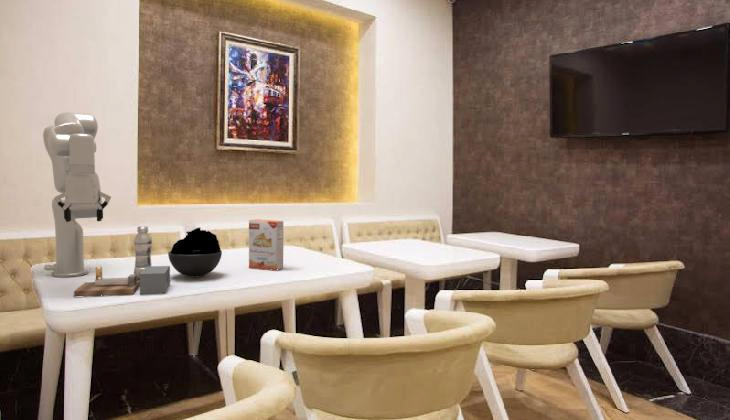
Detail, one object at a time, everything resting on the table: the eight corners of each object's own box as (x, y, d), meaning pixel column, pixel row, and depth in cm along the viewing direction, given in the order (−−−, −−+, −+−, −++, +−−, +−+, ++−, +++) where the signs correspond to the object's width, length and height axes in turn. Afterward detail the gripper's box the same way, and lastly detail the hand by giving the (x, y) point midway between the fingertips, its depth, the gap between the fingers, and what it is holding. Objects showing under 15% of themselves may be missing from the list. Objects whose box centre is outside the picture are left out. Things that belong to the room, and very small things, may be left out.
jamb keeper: (139, 294, 177) (139, 273, 177) (146, 285, 191) (146, 266, 190) (165, 293, 179) (165, 273, 179) (170, 284, 193) (169, 265, 192)
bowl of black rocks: (202, 283, 196) (202, 233, 195) (157, 279, 202) (156, 230, 200) (231, 273, 215) (231, 227, 214) (189, 270, 221) (188, 225, 219)
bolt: (95, 284, 179) (94, 268, 179) (96, 283, 182) (96, 267, 181) (133, 283, 182) (133, 267, 182) (134, 282, 184) (134, 266, 184)
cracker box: (248, 268, 228) (248, 219, 226) (256, 266, 233) (256, 218, 232) (276, 271, 222) (276, 221, 221) (283, 268, 228) (283, 220, 226)
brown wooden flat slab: (73, 297, 173) (73, 281, 172) (85, 287, 186) (85, 273, 186) (133, 294, 177) (133, 279, 177) (140, 286, 190) (140, 271, 190)
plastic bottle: (137, 277, 206) (136, 225, 204) (155, 277, 206) (154, 226, 205) (131, 280, 199) (130, 227, 198) (149, 280, 200) (149, 227, 198)
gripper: (50, 170, 174) (51, 222, 175) (107, 170, 177) (108, 221, 178) (58, 170, 181) (59, 221, 182) (112, 171, 185) (114, 220, 185)
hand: (83, 221), depth 180 cm, fingers open, 9 cm apart
